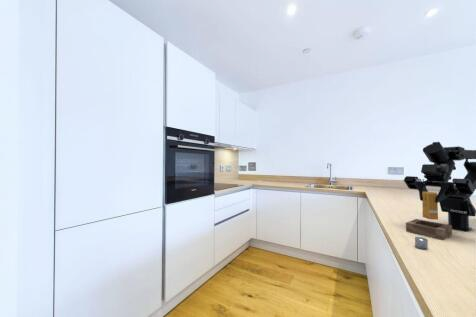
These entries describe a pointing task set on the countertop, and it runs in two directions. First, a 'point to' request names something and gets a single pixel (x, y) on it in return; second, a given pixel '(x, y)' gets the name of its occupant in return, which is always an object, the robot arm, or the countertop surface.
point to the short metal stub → (421, 243)
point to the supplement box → (430, 205)
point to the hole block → (429, 229)
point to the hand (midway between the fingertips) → (428, 201)
